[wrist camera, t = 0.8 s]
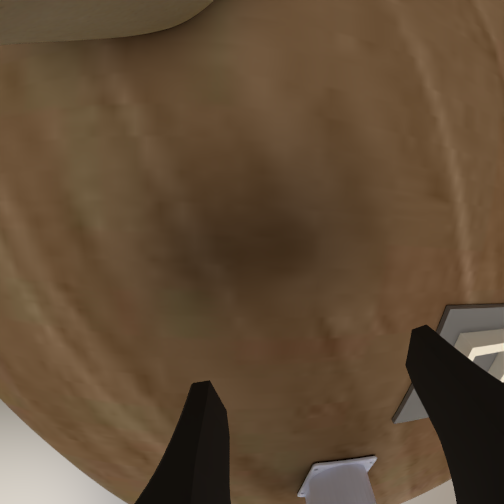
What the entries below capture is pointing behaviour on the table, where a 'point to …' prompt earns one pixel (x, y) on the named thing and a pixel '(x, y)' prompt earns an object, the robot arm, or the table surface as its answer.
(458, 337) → the holder
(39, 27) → the plant pot
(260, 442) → the table surface
